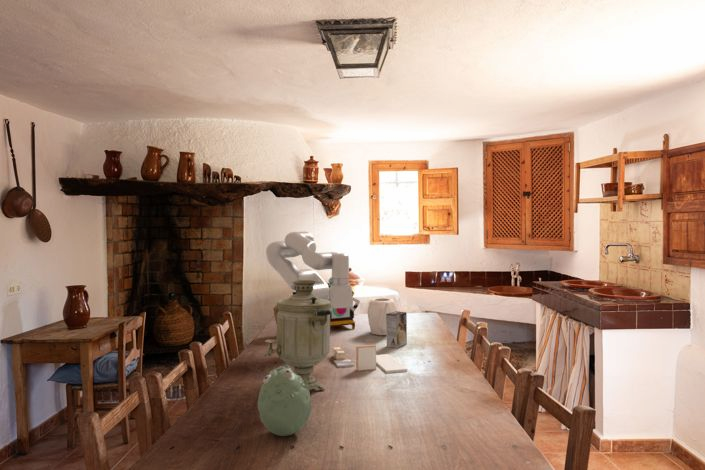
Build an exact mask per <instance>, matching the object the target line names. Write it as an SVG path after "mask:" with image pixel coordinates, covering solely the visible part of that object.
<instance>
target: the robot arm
mask: <svg viewBox="0 0 705 470" xmlns="http://www.w3.org/2000/svg"><path fill="white" fill-rule="evenodd" d="M314 241H315V240H314V237H313V234H312V233H310V232H308V231H292V232H289V233H287V234H286V235H285V237H284V240H278V241H277V240H276V241H273V242H271V243H268V245H267V247H266V250H265V253H266V259H267V261H268V263H269V265H270V266H271V268H273V269H274V270H275V272H277V273H278V274H279V275H280V277H281V278H282V280H283V281H284V282H285V283H286V284H287V285H288V287H289V288H290V289H292V290H294V291H295V284H294V283H293V282H292V281H296V280H312V281H316V283H315V284H314V285H313V291H312V294H314V295H315V296H317V297H318V298H321V299H326V300H328V301H330V302H331V304H330V307H329V310H330V311H331V310H332V309H333V308H350V320H354V318H355V311H356V310H357V308H358V307H359V305H360V302H361V301H360V300H359V299H357V298H355V297H354V295H353V296H352V291H353V289H352V285H351V284H350V263H349V261H350V259H349V258H350V257H349V254H347V253H338V252H334V251H330V252H328V251H327V252H316V249H317V245H316V243H315V242H314ZM299 256H301V259H302V261H303V263H304V264H305V265H307V266H308V267H310V268H311V269H310V268H307V269H306V268H305V269H299V268H298V267H297V266H296V265H295V264H294V263H293V262H292V261H291V260H289V259H291V258H296V257H299ZM287 258H289V259H287ZM323 270H331V277H332V278H331V277H330V278H331V279H330V278H329V279H330V280H329V279H328V283H332V285H330V288H329V286H328V285H327V283H326V281H325V280H324V279H323V278H322V277H321V276H320V275H319V273H318V272H317V271H323ZM351 301H352V302H351ZM354 302H355V304H354ZM331 321H332V313H331V314H330V322H331Z"/></svg>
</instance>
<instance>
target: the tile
mask: <svg viewBox="0 0 705 470" xmlns="http://www.w3.org/2000/svg"><path fill="white" fill-rule="evenodd" d="M355 350H356V351H355V353H356V354H355V358H356V359H355V364H356V365H355V370H356V371H357V372H363V371H364V370H365V371H374V370H375V371H377V364H376V355H377V345H376V344H364V345H361V344H360V345H355Z"/></svg>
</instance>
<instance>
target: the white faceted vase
mask: <svg viewBox="0 0 705 470" xmlns="http://www.w3.org/2000/svg"><path fill="white" fill-rule="evenodd" d="M397 309H398V308H397V305H396V302H395V300H394V299H393V298H390V297H374V298H372V299H370V300H369V303H368V307H367V319H368V326H369V329H370V332H371V334H372V335H377V336H387V327H386V314H388V313H392V312H395V311H398V310H397Z"/></svg>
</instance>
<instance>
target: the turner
mask: <svg viewBox="0 0 705 470" xmlns="http://www.w3.org/2000/svg"><path fill="white" fill-rule="evenodd" d="M332 350H333V351H332V353H333V354H332V356H333V357H334V360H333V363H334V364H335V366H336V367H337V368H339V369H340V368H349V367H355V363H354V362H353V361H352V360H351V359H350V358H348V359H347V358H346V352H345V350H343V349H342V348H341V347H339V346H338V347H333V348H332Z"/></svg>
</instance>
